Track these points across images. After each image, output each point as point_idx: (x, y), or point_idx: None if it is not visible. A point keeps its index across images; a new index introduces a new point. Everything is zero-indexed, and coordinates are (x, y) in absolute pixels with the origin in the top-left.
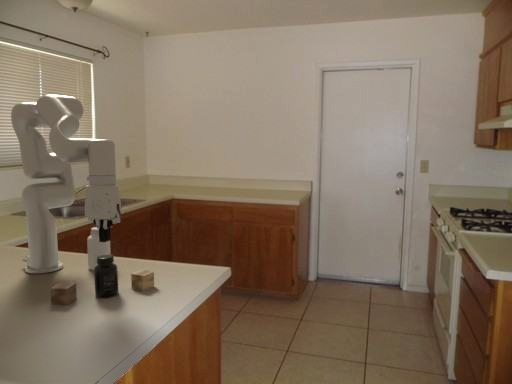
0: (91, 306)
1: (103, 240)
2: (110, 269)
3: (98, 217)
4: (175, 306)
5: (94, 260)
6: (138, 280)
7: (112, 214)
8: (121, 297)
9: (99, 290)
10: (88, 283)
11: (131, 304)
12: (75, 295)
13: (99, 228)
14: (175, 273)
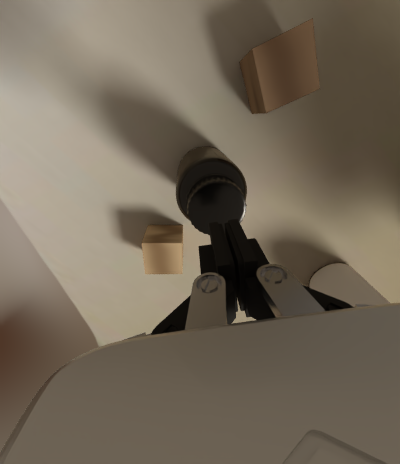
0: (176, 89)
1: (210, 225)
2: (179, 185)
3: (261, 336)
4: (13, 189)
5: (343, 278)
6: (159, 235)
7: (2, 453)
8: (159, 174)
9: (202, 148)
10: (293, 204)
11: (102, 151)
12: (253, 108)
13: (261, 270)
14: (169, 313)
